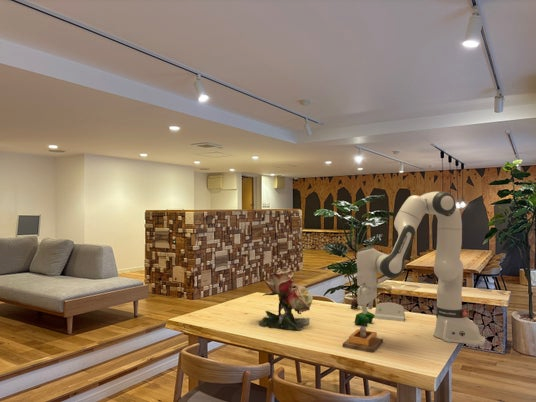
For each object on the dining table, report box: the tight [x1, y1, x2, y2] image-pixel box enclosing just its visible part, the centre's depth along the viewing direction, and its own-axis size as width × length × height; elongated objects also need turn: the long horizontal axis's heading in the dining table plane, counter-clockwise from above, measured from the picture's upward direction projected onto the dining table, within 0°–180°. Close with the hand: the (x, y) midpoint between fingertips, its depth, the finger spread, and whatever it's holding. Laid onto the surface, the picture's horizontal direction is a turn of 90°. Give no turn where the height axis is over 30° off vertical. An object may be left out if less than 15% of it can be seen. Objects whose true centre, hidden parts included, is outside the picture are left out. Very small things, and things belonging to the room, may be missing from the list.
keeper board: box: [342, 325, 384, 354], centre depth 181 cm, size 14×16×8 cm
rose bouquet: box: [258, 267, 314, 331], centre depth 216 cm, size 26×29×30 cm
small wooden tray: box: [348, 328, 378, 347], centre depth 181 cm, size 9×13×3 cm
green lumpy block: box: [353, 310, 375, 327], centre depth 214 cm, size 12×6×9 cm, turn 133°
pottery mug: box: [350, 297, 368, 310], centre depth 247 cm, size 12×10×8 cm
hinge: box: [374, 302, 406, 323], centre depth 225 cm, size 17×5×10 cm, turn 67°
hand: (367, 311), depth 186 cm, fingers open, 8 cm apart
